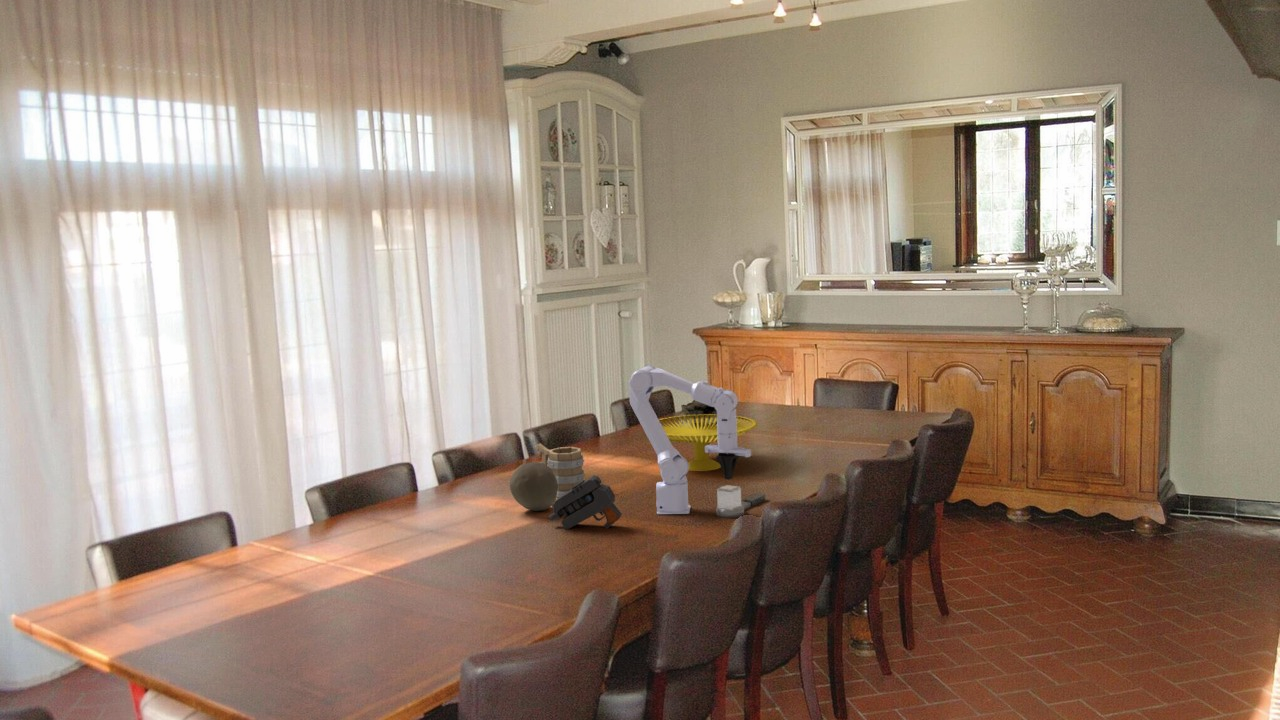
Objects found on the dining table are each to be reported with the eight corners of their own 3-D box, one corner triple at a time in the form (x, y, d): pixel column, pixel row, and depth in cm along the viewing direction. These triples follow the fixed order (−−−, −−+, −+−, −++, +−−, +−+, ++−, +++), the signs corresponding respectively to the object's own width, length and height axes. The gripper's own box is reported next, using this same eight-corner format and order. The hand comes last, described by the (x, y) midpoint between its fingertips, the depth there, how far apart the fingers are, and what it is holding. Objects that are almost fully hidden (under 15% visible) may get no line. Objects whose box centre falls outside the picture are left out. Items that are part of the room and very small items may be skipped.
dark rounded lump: (717, 435, 437) (696, 408, 442) (736, 416, 431) (714, 389, 436) (680, 446, 415) (659, 418, 420) (699, 426, 408) (677, 398, 413)
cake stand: (701, 486, 334) (699, 441, 332) (621, 468, 364) (619, 426, 362) (783, 464, 360) (782, 421, 358) (702, 448, 390) (700, 409, 388)
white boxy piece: (717, 508, 300) (716, 488, 299) (726, 504, 304) (725, 484, 303) (732, 510, 297) (731, 490, 296) (741, 506, 301) (740, 486, 300)
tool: (623, 520, 289) (595, 474, 289) (567, 552, 293) (539, 507, 293) (627, 514, 295) (600, 469, 294) (573, 545, 299) (545, 501, 299)
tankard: (594, 491, 334) (592, 445, 332) (566, 499, 325) (563, 453, 323) (553, 482, 348) (550, 439, 346) (524, 490, 339) (522, 446, 337)
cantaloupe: (539, 502, 323) (536, 455, 321) (568, 509, 313) (565, 461, 311) (502, 512, 313) (499, 464, 311) (531, 520, 303) (529, 470, 301)
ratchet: (735, 519, 295) (734, 502, 295) (711, 515, 300) (710, 499, 299) (772, 501, 313) (771, 485, 312) (749, 498, 317) (748, 482, 317)
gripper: (698, 433, 299) (700, 478, 301) (741, 437, 291) (743, 484, 293) (711, 428, 305) (713, 473, 307) (754, 433, 296) (755, 479, 298)
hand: (728, 478), depth 300 cm, fingers closed
